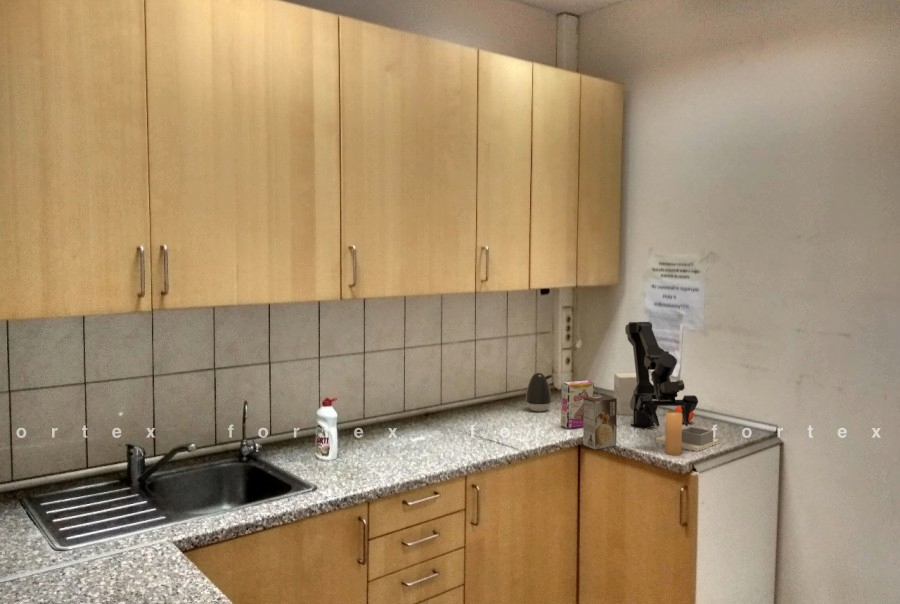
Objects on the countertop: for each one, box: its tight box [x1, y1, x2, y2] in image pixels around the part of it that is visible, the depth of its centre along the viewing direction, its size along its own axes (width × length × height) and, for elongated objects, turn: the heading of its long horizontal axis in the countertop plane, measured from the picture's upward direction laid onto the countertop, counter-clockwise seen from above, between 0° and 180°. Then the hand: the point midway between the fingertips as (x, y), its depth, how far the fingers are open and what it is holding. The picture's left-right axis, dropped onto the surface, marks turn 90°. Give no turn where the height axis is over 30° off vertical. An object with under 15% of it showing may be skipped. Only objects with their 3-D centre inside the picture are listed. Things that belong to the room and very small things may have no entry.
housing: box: [655, 425, 720, 452], centre depth 240 cm, size 15×14×5 cm
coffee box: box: [582, 394, 618, 450], centre depth 236 cm, size 9×6×16 cm
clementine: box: [673, 406, 695, 424], centre depth 267 cm, size 8×7×7 cm
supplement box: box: [613, 372, 637, 416], centre depth 282 cm, size 9×9×15 cm
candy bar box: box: [560, 380, 595, 430], centre depth 261 cm, size 11×5×16 cm, turn 113°
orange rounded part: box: [664, 410, 683, 457], centre depth 228 cm, size 5×5×13 cm
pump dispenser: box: [525, 372, 553, 413], centre depth 286 cm, size 10×10×15 cm
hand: (672, 425), depth 229 cm, fingers open, 9 cm apart
